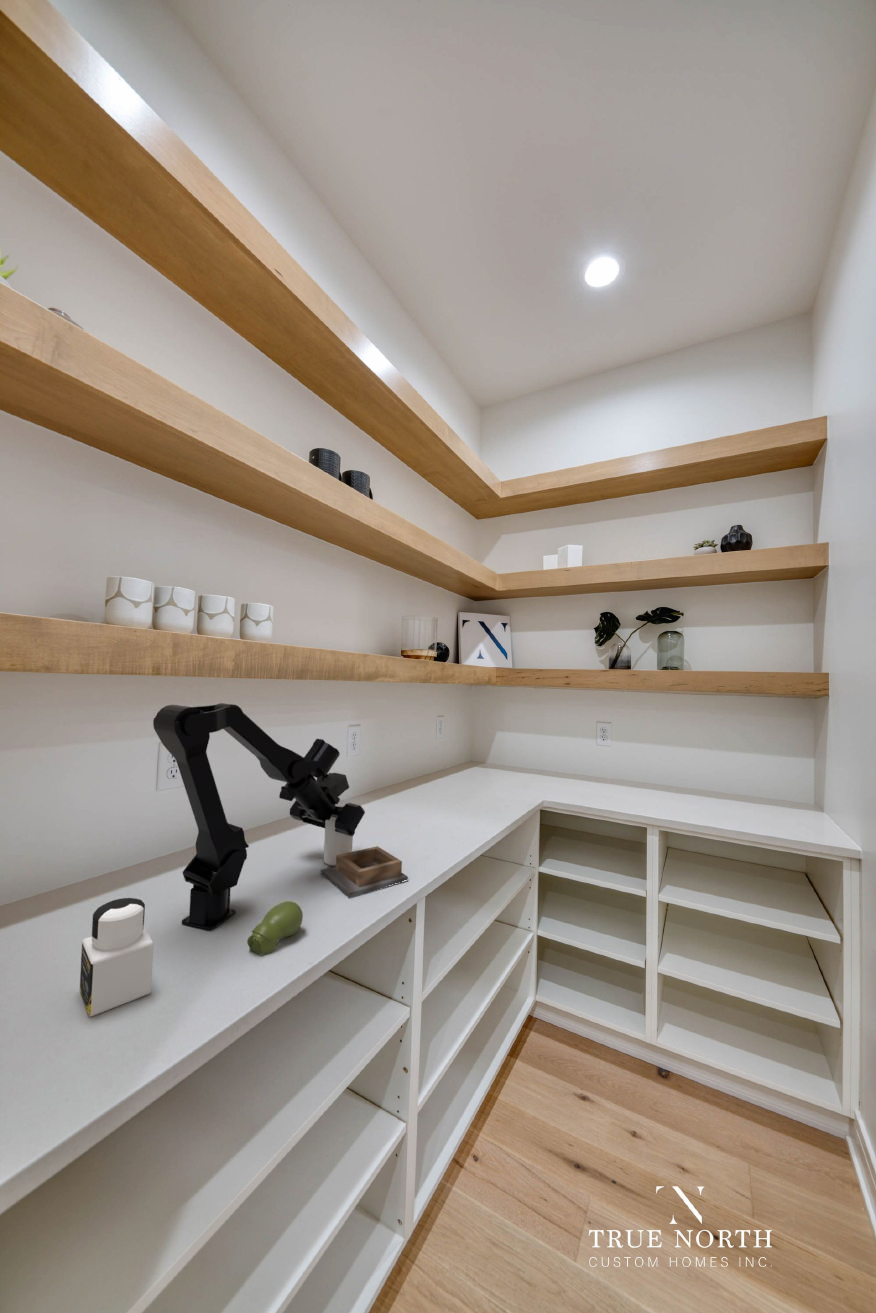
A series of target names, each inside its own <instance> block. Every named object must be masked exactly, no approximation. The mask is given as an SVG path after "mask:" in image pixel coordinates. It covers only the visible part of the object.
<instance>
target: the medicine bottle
mask: <svg viewBox="0 0 876 1313" xmlns="http://www.w3.org/2000/svg"><path fill="white" fill-rule="evenodd" d="M145 908H146V904H145V903H144V901H142V900H141V899H139V898H136V897H135V898H134V897H125V898H124V897H122V898H117V899H114V900H111V901H108V902H106V903H104V904H102V905H101V906H99V907H98V908H97V909H96V910H95V911H94V912H93V913H92V924H91V927H92V928H91V936H89V937H85V938H83V939H82V941H81V956H80V974H79V975H80V976H79V978H80V979H79V992H80V995H81V998H82V1000H83V1003H84V1006H85V1008H86V1009H85V1010H86V1011H87V1015H88V1016H89V1017H94V1016H96V1015H99V1014H101V1013H104V1012H107V1011H109V1010H111V1009H115V1008H117V1007H120V1006H122V1005H125V1004H127V1003H129V1002H131V1001H134V1000H137V999H140V998H142V997H144V996H147V995H149V994H151V992H152V981H153V980H152V979H153V978H152V977H153V962H154V960H153V959H154V941H153V940H152V938H151V937H150V935H149V933H148V932H147V930H146V929H145V911H146V910H145Z"/></svg>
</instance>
